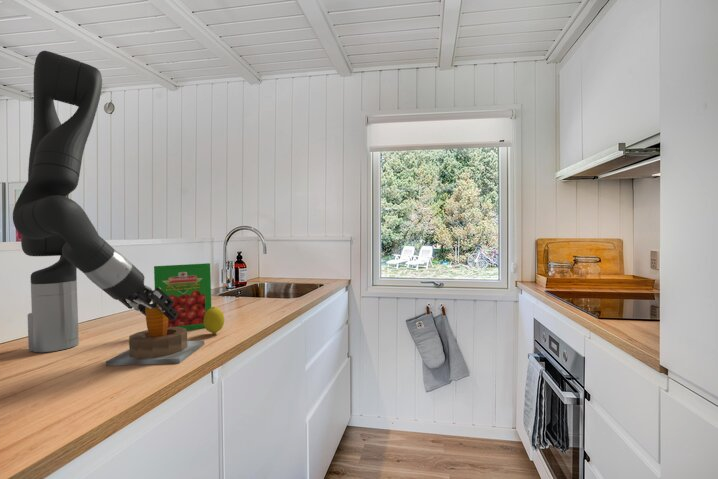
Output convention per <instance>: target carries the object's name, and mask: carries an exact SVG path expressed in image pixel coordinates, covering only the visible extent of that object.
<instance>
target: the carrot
mask: <svg viewBox="0 0 718 479" xmlns="http://www.w3.org/2000/svg"><path fill="white" fill-rule="evenodd" d="M158 288H160V287H158ZM160 289H161V288H160ZM153 303H154V301H151V304H153ZM157 306H159V305H157ZM159 307H160V306H159ZM145 313H146V316H145V321H146V328H147V329H146V330H148V333H149V336H150V338H156V337H163V336H166V335H167V329H168V318H167V317H166V316H165V315H164V314H163V313H162V312H160V311H158V310H156V309H150V308H148V307H146V308H145Z"/></svg>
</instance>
